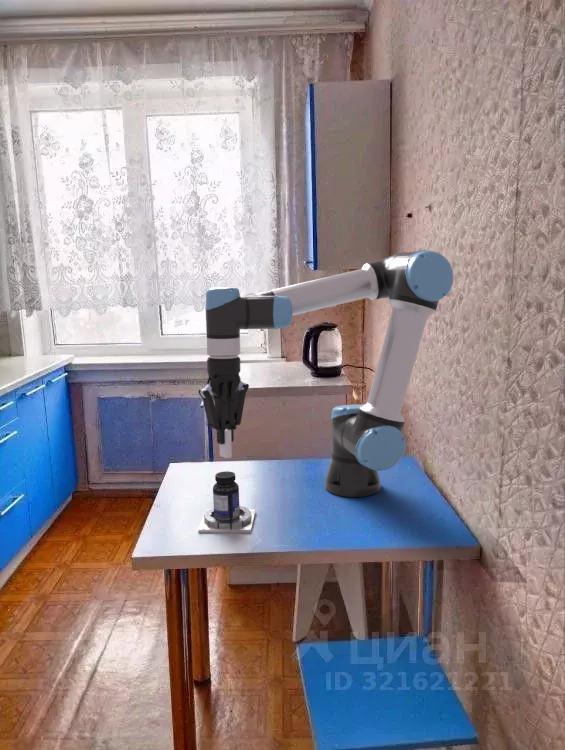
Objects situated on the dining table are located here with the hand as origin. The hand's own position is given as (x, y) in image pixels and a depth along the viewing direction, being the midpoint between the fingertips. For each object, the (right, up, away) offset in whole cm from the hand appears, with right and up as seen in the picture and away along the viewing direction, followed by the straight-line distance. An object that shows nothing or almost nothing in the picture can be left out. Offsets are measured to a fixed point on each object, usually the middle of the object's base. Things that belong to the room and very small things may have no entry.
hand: (225, 456), depth 138 cm
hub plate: (0, -16, +3) cm, 16 cm away
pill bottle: (0, -15, +2) cm, 16 cm away
